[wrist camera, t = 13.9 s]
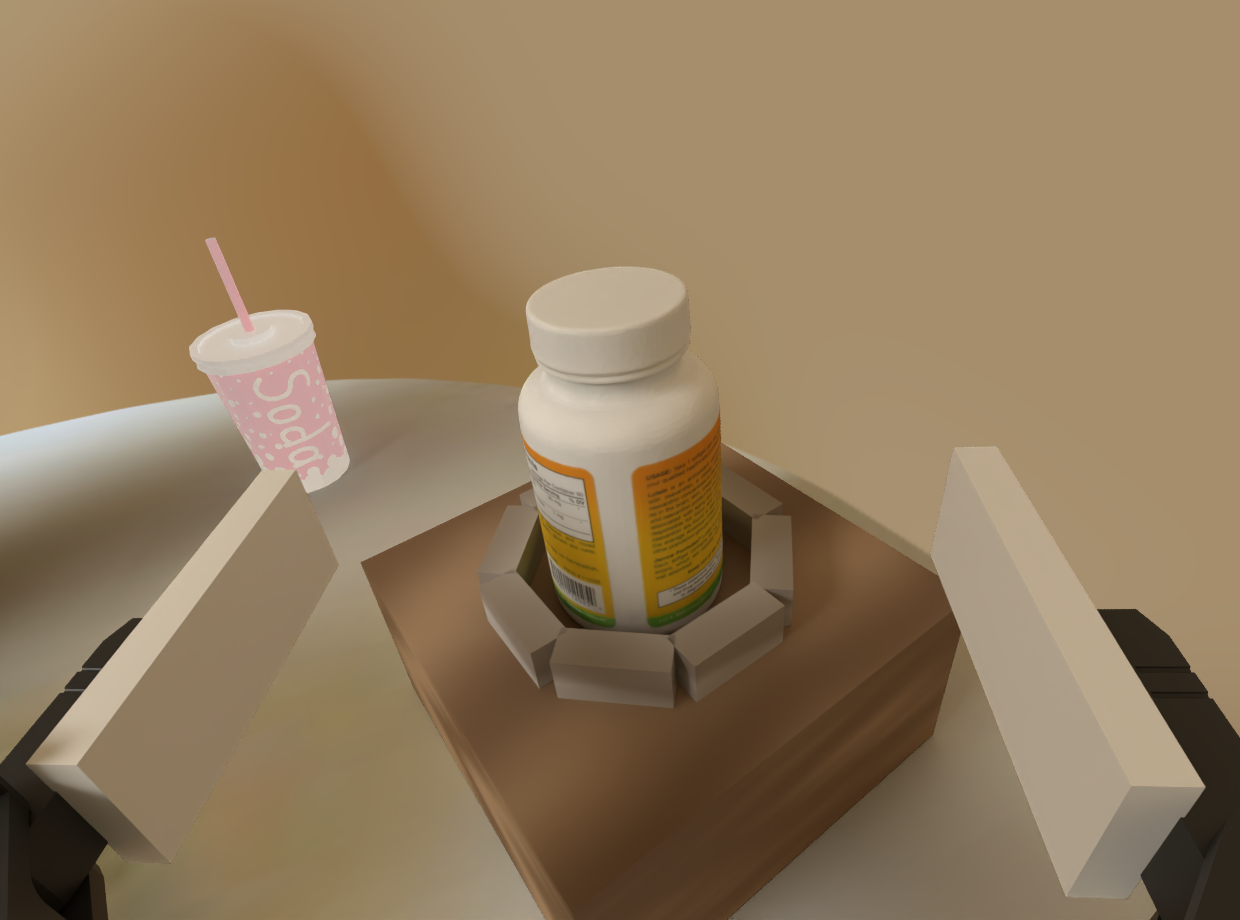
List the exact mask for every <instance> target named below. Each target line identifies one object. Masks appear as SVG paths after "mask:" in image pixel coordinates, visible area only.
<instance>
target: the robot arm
mask: <svg viewBox="0 0 1240 920" xmlns="http://www.w3.org/2000/svg"><path fill="white" fill-rule="evenodd" d="M930 555H931V558H932V560H933V563H934V565H935V568H936V570H937V573H938V575H939V578H940V580H941V583H942V586H943V588H944V591H945V593H946V596H947V598H948V601H949V603H950V606H951V608H952V611H953V613H954V616H955V618H956V621H957V623H958V626H959V629H960V631H961V634H962V636H963V639H964V641H965V644H966V646H967V649H968V651H969V654H970V656H971V659H972V661H973V664H974V666H975V669H976V671H977V674H978V677H979V679H980V682H981V684H982V687H983V689H984V692H985V694H986V697H987V699H988V702H989V704H990V707H991V709H992V712H993V714H994V717H995V720H996V722H997V725H998V727H999V730H1000V732H1001V735H1002V737H1003V740H1004V742H1005V745H1006V747H1007V750H1008V752H1009V755H1010V757H1011V760H1012V762H1013V765H1014V768H1015V770H1016V773H1017V775H1018V778H1019V780H1020V783H1021V785H1022V788H1023V790H1024V793H1025V795H1026V798H1027V800H1028V803H1029V805H1030V808H1031V811H1032V813H1033V816H1034V818H1035V821H1036V823H1037V826H1038V828H1039V831H1040V833H1041V836H1042V838H1043V841H1044V843H1045V846H1046V848H1047V851H1048V853H1049V856H1050V859H1051V861H1052V864H1053V866H1054V869H1055V871H1056V874H1057V876H1058V879H1059V881H1060V884H1061V886H1062V889H1063V891H1064V894H1065V896H1066V897H1076V898H1103V899H1128V897H1129V896H1130V894H1131V893H1132V892H1133V890H1134V889H1135V887H1136V886H1137V884H1138V883H1139V882H1140V880H1141V879H1142V880H1143V882H1144V884H1145V886H1146V888H1147V890H1148V892H1149V894H1150V896H1151V898H1152V901H1153V903H1154V905H1155V907H1156V909H1157V911H1156V912H1155V914H1154V915H1153V916H1152V918H1151V919H1150V920H1240V737H1239V736H1238V735H1237V733H1236V732H1235V730H1234V729H1233V728H1232V726H1231V724H1230V723H1229V722H1228V720H1227V719H1226V718H1225V716H1224V714H1223V713H1222V711H1221V710H1220V709H1219V707H1218V706H1217V704H1216V703H1215V701H1214V700H1213V699H1210V698H1209V697H1208V691H1207V690H1206V688H1205V687H1204V685H1203V684H1202V682H1201V681H1200V680H1199V678H1198V677H1197V675H1196V674H1195V673H1192V672H1191V670H1190V665H1189V664H1188V662H1187V661H1186V659H1185V658H1184V657H1183V655H1182V654H1181V652H1180V651H1179V649H1178V648H1177V647H1176V645H1175V644H1174V642H1173V641H1172V639H1171V638H1170V636H1169V635H1168V634H1166V633H1165V632H1164V631H1162V630H1161V629H1160V628H1159V627H1158V626H1156V625H1155V624H1154V623H1153V622H1151V621H1150V620H1149V619H1148V618H1146V617H1145V616H1144V615H1143V614H1141V613H1140V612H1139V611H1138V610H1136V609H1096V607H1095V606H1094V604H1093V602H1092V601H1091V599H1090V598H1089V596H1088V594H1087V593H1086V591H1085V590H1084V588H1083V586H1082V585H1081V583H1080V581H1079V580H1078V578H1077V576H1076V575H1075V573H1074V571H1073V570H1072V568H1071V567H1070V565H1069V563H1068V562H1067V560H1066V558H1065V557H1064V555H1063V553H1062V552H1061V550H1060V549H1059V547H1058V545H1057V544H1056V542H1055V540H1054V539H1053V537H1052V535H1051V534H1050V532H1049V531H1048V529H1047V527H1046V526H1045V524H1044V523H1043V521H1042V519H1041V518H1040V516H1039V514H1038V513H1037V511H1036V509H1035V508H1034V506H1033V505H1032V503H1031V501H1030V500H1029V498H1028V496H1027V495H1026V493H1025V491H1024V490H1023V488H1022V487H1021V485H1020V483H1019V482H1018V480H1017V478H1016V477H1015V475H1014V474H1013V472H1012V470H1011V469H1010V467H1009V465H1008V464H1007V462H1006V460H1005V459H1004V457H1003V455H1002V454H1001V452H1000V451H999V449H998V447H997V446H978V447H954V448H953V452H952V457H951V461H950V466H949V471H948V475H947V480H946V485H945V489H944V494H943V499H942V503H941V508H940V513H939V517H938V522H937V527H936V531H935V536H934V541H933V545H932V550H931V554H930ZM338 565H339V564H338V562H337V560H336V557H335V555H334V553H333V551H332V548H331V546H330V544H329V542H328V540H327V537H326V535H325V533H324V531H323V528H322V526H321V524H320V522H319V520H318V517H317V515H316V513H315V511H314V508H313V506H312V504H311V502H310V499H309V497H308V495H307V493H306V491H305V488H304V486H303V484H302V482H301V479H300V477H299V475H298V473H297V471H296V469H289V470H262V471H261V472H260V473H259V474H258V476H257V477H256V478H255V479H254V481H253V482H252V483H251V484H250V486H249V487H248V488H247V489H246V491H245V492H244V493H243V494H242V496H241V497H240V498H239V499H238V501H237V502H236V503H235V504H234V506H233V507H232V508H231V509H230V511H229V512H228V513H227V514H226V515H225V517H224V518H223V519H222V520H221V522H220V523H219V524H218V525H217V527H216V528H215V529H214V530H213V532H212V533H211V534H210V535H209V537H208V538H207V539H206V540H205V542H204V543H203V544H202V545H201V547H200V548H199V549H198V550H197V552H196V553H195V554H194V555H193V557H192V558H191V559H190V560H189V561H188V563H187V564H186V565H185V566H184V568H183V569H182V570H181V571H180V573H179V574H178V575H177V576H176V578H175V579H174V580H173V581H172V583H171V584H170V585H169V586H168V588H167V589H166V590H165V591H164V593H163V594H162V595H161V596H160V598H159V599H158V600H157V601H156V602H155V604H154V605H153V606H152V607H151V609H150V610H149V611H148V612H147V614H146V615H145V616H144V617H143V618H132V619H131V620H130V621H128V622H127V623H126V624H125V625H123V626H122V627H121V628H119V629H118V630H117V631H116V632H114V633H113V634H112V635H110V636H109V637H108V638H107V639H105V640H104V641H103V642H102V643H101V644H100V646H99V647H98V648H97V649H96V650H95V652H94V653H93V654H92V655H91V656H90V658H89V659H88V660H87V661H86V662H85V664H84V665H83V666H82V671H81V672H77V673H76V674H75V676H74V677H73V678H72V679H71V680H70V682H69V683H68V684H67V685H66V686H65V691H64V693H60V694H59V695H58V696H57V697H56V698H55V700H54V701H53V702H52V703H51V704H50V705H49V707H48V708H47V709H46V710H45V711H44V713H43V714H42V715H41V716H40V717H39V719H38V720H37V721H36V722H35V723H34V725H33V726H32V727H31V728H30V729H29V731H28V732H27V733H26V734H25V735H24V737H23V738H22V739H21V740H20V741H19V743H18V744H17V745H16V746H15V747H14V749H13V750H12V751H11V752H10V753H9V755H8V756H7V757H6V758H5V759H4V761H3V762H2V763H1V764H0V920H108V914H107V903H106V893H105V883H104V876H103V874H102V872H101V869H100V867H99V866H98V865H97V864H96V863H95V862H96V861H97V859H98V857H99V856H100V854H101V853H102V851H103V850H104V848H105V847H106V845H107V844H108V845H109V846H111V847H112V848H113V849H114V850H115V851H116V852H117V853H118V854H119V855H120V856H121V857H122V858H123V859H124V860H125V861H126V862H134V863H161V864H172V862H173V860H174V858H175V857H176V855H177V853H178V851H179V849H180V848H181V846H182V844H183V842H184V840H185V839H186V837H187V835H188V833H189V831H190V830H191V828H192V826H193V824H194V823H195V821H196V819H197V817H198V815H199V814H200V812H201V810H202V808H203V806H204V805H205V803H206V801H207V799H208V798H209V796H210V794H211V792H212V790H213V789H214V787H215V785H216V783H217V781H218V780H219V778H220V776H221V774H222V773H223V771H224V769H225V767H226V765H227V764H228V762H229V760H230V758H231V756H232V755H233V753H234V751H235V749H236V747H237V746H238V744H239V742H240V740H241V739H242V737H243V735H244V733H245V731H246V730H247V728H248V726H249V724H250V722H251V721H252V719H253V717H254V715H255V714H256V712H257V710H258V708H259V706H260V705H261V703H262V701H263V699H264V697H265V696H266V694H267V692H268V690H269V688H270V687H271V685H272V683H273V681H274V680H275V678H276V676H277V674H278V672H279V671H280V669H281V667H282V665H283V663H284V662H285V660H286V658H287V656H288V655H289V653H290V651H291V649H292V647H293V646H294V644H295V642H296V640H297V638H298V637H299V635H300V633H301V631H302V629H303V628H304V626H305V624H306V622H307V621H308V619H309V617H310V615H311V613H312V612H313V610H314V608H315V606H316V604H317V603H318V601H319V599H320V597H321V596H322V594H323V592H324V590H325V588H326V587H327V585H328V583H329V581H330V579H331V578H332V576H333V574H334V572H335V571H336V569H337V567H338Z"/></svg>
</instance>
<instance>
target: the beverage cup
mask: <svg viewBox="0 0 1240 920" xmlns="http://www.w3.org/2000/svg"><path fill="white" fill-rule="evenodd" d="M205 241H206V244H207V246H208V248H209V251H210V253H211V255H212V257H213V260H214V262H215V264H216V266H217V269H218V271H219V273H220V276H221V278H222V280H223V282H224V284H225V287H226V289H227V291H228V294H229V296H230V298H231V301H232V303H233V305H234V308H235V310H236V312H237V314H238V317H239V318H236V319H233V320H230V321H228V322H225V323H223V324H221V325H218V326H216V327H213V328H212V329H210V330H208V331H207V332H205V333H204V334H202V335H200V336H199V337H197V338H196V340H195V341H194V342H193V343H192V345H191V346H190V347H189V350H190V356H191V358H192V360H193V361H194V362H196V363H197V368H198V370H200V371H202V372H204V373H206V374H207V376H208V377H209V379H210V381H211V382H212V384H213V386H214V388H215V389H216V391H217V393H218V395H219V397H220V398H221V400H222V402H223V403H224V405H225V407H226V409H227V410H228V412H229V414H230V416H231V417H232V419H233V421H234V422H235V424H236V426H237V428H238V429H239V431H240V433H241V435H242V436H243V438H244V440H245V442H246V443H247V445H248V447H249V448H250V450H251V452H252V454H253V455H254V457H255V459H256V461H257V462H258V464H259V466H260V467H261V469H262V470H289V469H296V471H297V473H298V475H299V477H300V479H301V482H302V484H303V486H304V488H305V491H306V493H309V492H312V491H315V490H318V489H321V488H323V487H326V486H327V485H329V484H331V483H332V482H334V481H336V480H337V479H339V478H340V477H341V476H342V475H343V473H344V472H345V471H346V470H347V469H348V466H349V462H350V459H349V456H348V453H347V449H346V446H345V443H344V440H343V436H342V433H341V430H340V427H339V423H338V420H337V417H336V414H335V410H334V407H333V404H332V401H331V397H330V394H329V391H328V388H327V384H326V381H325V378H324V375H323V372H322V368H321V365H320V362H319V359H318V355H317V352H316V349H315V346H314V342H313V340H314V338H315V336H316V334H315V332H314V330H313V324H312V321H311V319H310V317H309V316H308V314H306V313H303V312H300V311H297V310H273V311H266V312H259V313H254V314H251V315H248V313H247V311H246V308H245V306H244V304H243V301H242V299H241V297H240V294H239V292H238V290H237V287H236V285H235V283H234V280H233V278H232V276H231V274H230V271H229V269H228V266H227V264H226V262H225V259H224V257H223V255H222V253H221V250H220V248H219V245H218V243H217V241H216V238H209V239H206V240H205Z"/></svg>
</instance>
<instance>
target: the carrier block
mask: <svg viewBox="0 0 1240 920" xmlns="http://www.w3.org/2000/svg"><path fill="white" fill-rule="evenodd" d="M721 484H722V487H721V494H722V539H723V568H722V580H721V585H720V588H719V591H718V593H717V596H716V598H715V600H714V601H713V603H712V604H711V605H710V607H709V608H708V609H707V610H706V611H705V612H704V613H703V614H702V615H701V616H699V617H698V618H696V619H695V620H693V621H692V622H690V623H689V624H687V625H685V626H684V627H682V628H681V629H679V630H677V631H675V632H672V633H669V634H666V635H660V634H646V633H632V632H617V631H603V630H589V629H586V628H584V627H583V626H581V625H580V624H578V623H577V622H576V621H574V620H573V619H572V618H571V617H570V616H569V615H568V613H567V612H566V611H565V609H564V608H563V606H562V605H561V603H560V601H559V599H558V596H557V593H556V590H555V586H554V583H553V579H552V575H551V570H550V565H549V560H548V556H547V551H546V547H545V542H544V537H543V533H542V528H541V523H540V519H539V514H538V509H537V504H536V499H535V495H534V490H533V485H532V481H531V482H529V483H526V484H524V485H522V486H520V487H518V488H516V489H514V490H512V491H510V492H508V493H505V494H503V495H501V496H499V497H497V498H495V499H493V500H491V501H489V502H487V503H484V504H482V505H480V506H478V507H476V508H474V509H472V510H470V511H468V512H466V513H463V514H461V515H459V516H457V517H455V518H453V519H451V520H449V521H447V522H445V523H443V524H440V525H438V526H436V527H434V528H432V529H430V530H428V531H426V532H424V533H422V534H419V535H417V536H415V537H413V538H411V539H409V540H407V541H405V542H403V543H401V544H398V545H396V546H394V547H392V548H390V549H388V550H386V551H384V552H382V553H380V554H377V555H375V556H373V557H371V558H369V559H367V560H365V561H363V562H361V565H362V567H363V569H364V572H365V574H366V576H367V579H368V581H369V583H370V586H371V588H372V591H373V593H374V595H375V598H376V600H377V602H378V605H379V607H380V609H381V612H382V614H383V617H384V619H385V621H386V624H387V626H388V628H389V631H390V633H391V635H392V638H393V640H394V643H395V645H396V647H397V650H398V652H399V654H400V657H401V659H402V661H403V664H404V666H405V669H406V671H407V673H408V676H409V678H410V680H411V683H412V685H413V687H414V689H415V691H416V693H417V694H418V696H419V698H420V700H421V701H422V703H423V705H424V707H425V708H426V710H427V712H428V714H429V715H430V717H431V719H432V721H433V723H434V724H435V726H436V728H437V730H438V731H439V733H440V735H441V737H442V738H443V740H444V742H445V744H446V745H447V747H448V749H449V751H450V752H451V754H452V756H453V758H454V759H455V761H456V763H457V765H458V766H459V768H460V770H461V772H462V773H463V775H464V777H465V779H466V780H467V782H468V784H469V786H470V787H471V789H472V791H473V793H474V794H475V796H476V798H477V800H478V801H479V803H480V805H481V807H482V808H483V810H484V812H485V814H486V816H487V817H488V819H489V821H490V823H491V824H492V826H493V828H494V830H495V831H496V833H497V835H498V837H499V838H500V840H501V842H502V844H503V845H504V847H505V849H506V851H507V852H508V854H509V856H510V858H511V859H512V861H513V863H514V865H515V866H516V868H517V870H518V872H519V873H520V875H521V877H522V879H523V880H524V882H525V884H526V886H527V887H528V889H529V891H530V893H531V894H532V896H533V898H534V900H535V901H536V903H537V905H538V907H539V908H540V910H541V912H542V914H543V916H544V917H545V919H546V920H727V919H728V918H729V917H730V916H731V915H732V914H733V913H735V912H736V911H737V910H738V909H739V908H740V907H741V906H742V905H744V904H745V903H746V902H747V901H748V900H749V899H750V898H751V897H752V896H754V895H755V894H756V893H757V892H758V891H759V890H760V889H761V888H762V887H764V886H765V885H766V884H767V883H768V882H769V881H770V880H771V879H772V878H774V877H775V876H776V875H777V874H778V873H779V872H780V871H781V870H783V869H784V868H785V867H786V866H787V865H788V864H789V863H790V862H791V861H793V860H794V859H795V858H796V857H797V856H798V855H799V854H800V853H801V852H803V851H804V850H805V849H806V848H807V847H808V846H809V845H810V844H811V843H813V842H814V841H815V840H816V839H817V838H818V837H819V836H820V835H822V834H823V833H824V832H825V831H826V830H827V829H828V828H829V827H830V826H832V825H833V824H834V823H835V822H836V821H837V820H838V819H839V818H840V817H842V816H843V815H844V814H845V813H846V812H847V811H848V810H849V809H850V808H852V807H853V806H854V805H855V804H856V803H857V802H858V801H859V800H860V799H862V798H863V797H864V796H865V795H866V794H867V793H868V792H869V791H871V790H872V789H873V788H874V787H875V786H876V785H877V784H878V783H879V782H881V781H882V780H883V779H884V778H885V777H886V776H887V775H888V774H889V773H891V772H892V771H893V770H894V769H895V768H896V767H897V766H898V765H899V764H901V763H902V762H903V761H904V760H905V759H906V758H907V757H908V756H910V755H911V754H912V753H913V752H914V751H915V750H916V749H917V748H918V747H920V746H921V745H922V744H923V743H924V742H925V741H926V740H927V739H928V738H930V737H931V736H932V735H933V732H934V728H935V725H936V721H937V717H938V714H939V710H940V706H941V703H942V699H943V695H944V692H945V688H946V684H947V681H948V677H949V673H950V670H951V666H952V662H953V659H954V655H955V652H956V648H957V644H958V641H959V637H960V633H961V631H960V629H959V626H958V623H957V621H956V618H955V616H954V613H953V611H952V608H951V606H950V603H949V601H948V598H947V596H946V593H945V591H944V588H943V586H942V583H941V580H940V578H939V577H938V576H937V575H935V574H934V573H932V572H930V571H929V570H927V569H925V568H924V567H922V566H921V565H919V564H917V563H916V562H914V561H912V560H911V559H909V558H908V557H906V556H904V555H903V554H901V553H900V552H898V551H896V550H895V549H893V548H891V547H890V546H888V545H887V544H885V543H883V542H882V541H880V540H878V539H877V538H875V537H874V536H872V535H870V534H869V533H867V532H865V531H864V530H862V529H861V528H859V527H857V526H856V525H854V524H852V523H851V522H849V521H848V520H846V519H844V518H843V517H841V516H840V515H838V514H836V513H835V512H833V511H831V510H830V509H828V508H827V507H825V506H823V505H822V504H820V503H818V502H817V501H815V500H814V499H812V498H810V497H809V496H807V495H805V494H804V493H802V492H801V491H799V490H797V489H796V488H794V487H792V486H791V485H789V484H788V483H786V482H784V481H783V480H781V479H780V478H778V477H776V476H775V475H773V474H771V473H770V472H768V471H767V470H765V469H763V468H762V467H760V466H758V465H757V464H755V463H754V462H752V461H750V460H749V459H747V458H745V457H744V456H742V455H741V454H739V453H737V452H736V451H734V450H733V449H731V448H729V447H728V446H726V445H724V444H723V443H721Z"/></svg>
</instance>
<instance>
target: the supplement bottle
mask: <svg viewBox="0 0 1240 920" xmlns="http://www.w3.org/2000/svg"><path fill="white" fill-rule="evenodd" d="M526 317H527V323H528V329H529V335H530V344H531V350H532V352H533V354H534V356H535V360H536V362H537V364H538V365H539V366H538V367H537V368H536V369H535V370H534V371H533V372H532V373H531V374H530V376H529V377H528V379H527V380H526V382H525V384H524V385H523V388H522V390H521V393H520V396H519V402H518V415H519V422H520V429H521V434H522V438H523V443H524V448H525V452H526V457H527V461H528V466H529V471H530V476H531V481H532V485H533V490H534V495H535V499H536V504H537V509H538V514H539V519H540V523H541V528H542V533H543V537H544V542H545V547H546V551H547V556H548V560H549V565H550V570H551V575H552V579H553V583H554V586H555V590H556V593H557V596H558V599H559V601H560V603H561V605H562V606H563V608H564V609H565V611H566V612H567V613H568V615H569V616H570V617H571V618H572V619H573V620H574V621H576V622H577V623H578V624H580V625H581V626H583V627H584V628H586V629H589V630H603V631H617V632H632V633H646V634H660V635H666V634H669V633H672V632H675V631H677V630H679V629H681V628H682V627H684V626H685V625H687V624H689V623H690V622H692V621H693V620H695V619H696V618H698V617H699V616H701V615H702V614H703V613H704V612H705V611H706V610H707V609H708V608H709V607H710V605H711V604H712V603H713V601H714V600H715V598H716V596H717V593H718V591H719V588H720V585H721V580H722V568H723V539H722V494H721V487H722V484H721V434H720V406H719V394H718V388H717V384H716V381H715V378H714V376H713V374H712V373H711V371H710V369H709V368H708V367H707V366H706V364H705V363H704V362H703V361H702V360H701V359H699V357H698V356H696V355H695V354H693V353H692V352H691V351H689V350H687V349H688V347H689V344H690V337H689V336H690V329H691V326H690V315H689V299H688V291H687V288H686V286H685V284H684V283H683V281H682V280H680V279H679V278H678V277H676V276H674V275H672V274H670V273H667V272H664V271H662V270H657V269H651V268H644V267H623V266H622V267H606V268H600V269H592V270H587V271H582V272H578V273H574V274H571V275H567V276H564V277H561V278H559V279H556V280H554V281H552V282H550V283H548V284H546V285H544V286H542V287H541V288H540V289H538V290H537V291H536V292H534V293H533V295H532V296H531V297H530V299H529V300H528V302H527V305H526Z"/></svg>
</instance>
